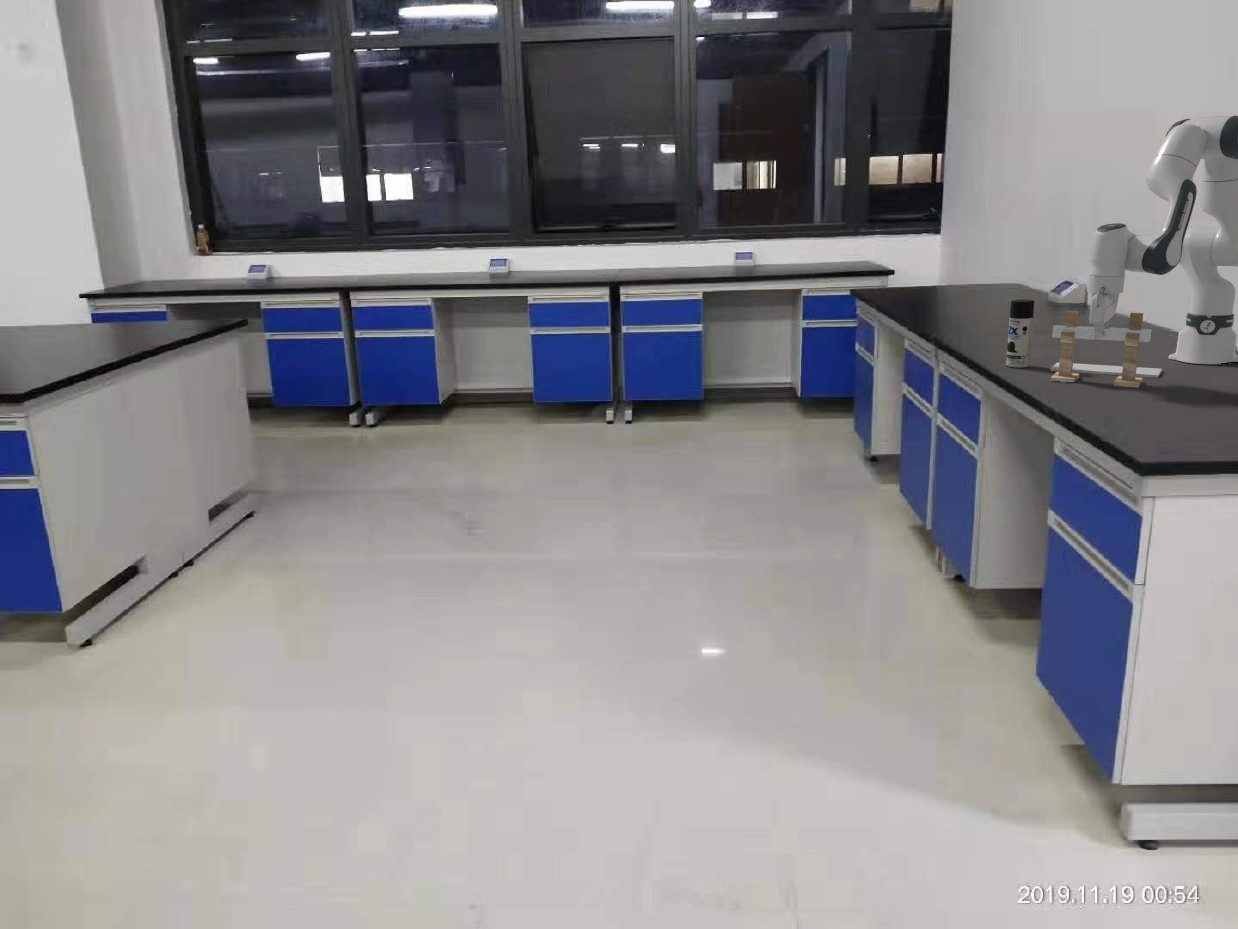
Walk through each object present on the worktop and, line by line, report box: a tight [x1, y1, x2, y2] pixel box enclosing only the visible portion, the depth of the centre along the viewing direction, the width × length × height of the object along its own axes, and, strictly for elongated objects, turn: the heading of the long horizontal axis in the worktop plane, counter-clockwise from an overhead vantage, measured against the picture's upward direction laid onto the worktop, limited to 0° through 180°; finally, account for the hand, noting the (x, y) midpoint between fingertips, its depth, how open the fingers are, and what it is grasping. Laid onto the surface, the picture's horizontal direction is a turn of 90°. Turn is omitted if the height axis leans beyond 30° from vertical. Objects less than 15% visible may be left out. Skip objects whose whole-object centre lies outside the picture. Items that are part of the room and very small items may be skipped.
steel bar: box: [1051, 324, 1152, 343], centre depth 260 cm, size 3×24×3 cm, turn 55°
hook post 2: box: [1113, 312, 1144, 388], centre depth 257 cm, size 8×6×19 cm
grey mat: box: [1049, 361, 1163, 379], centre depth 277 cm, size 10×28×1 cm, turn 55°
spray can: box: [1005, 298, 1035, 369], centre depth 286 cm, size 7×7×20 cm
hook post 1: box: [1050, 310, 1080, 383], centre depth 266 cm, size 8×6×19 cm
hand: (1100, 336), depth 261 cm, fingers open, 5 cm apart
